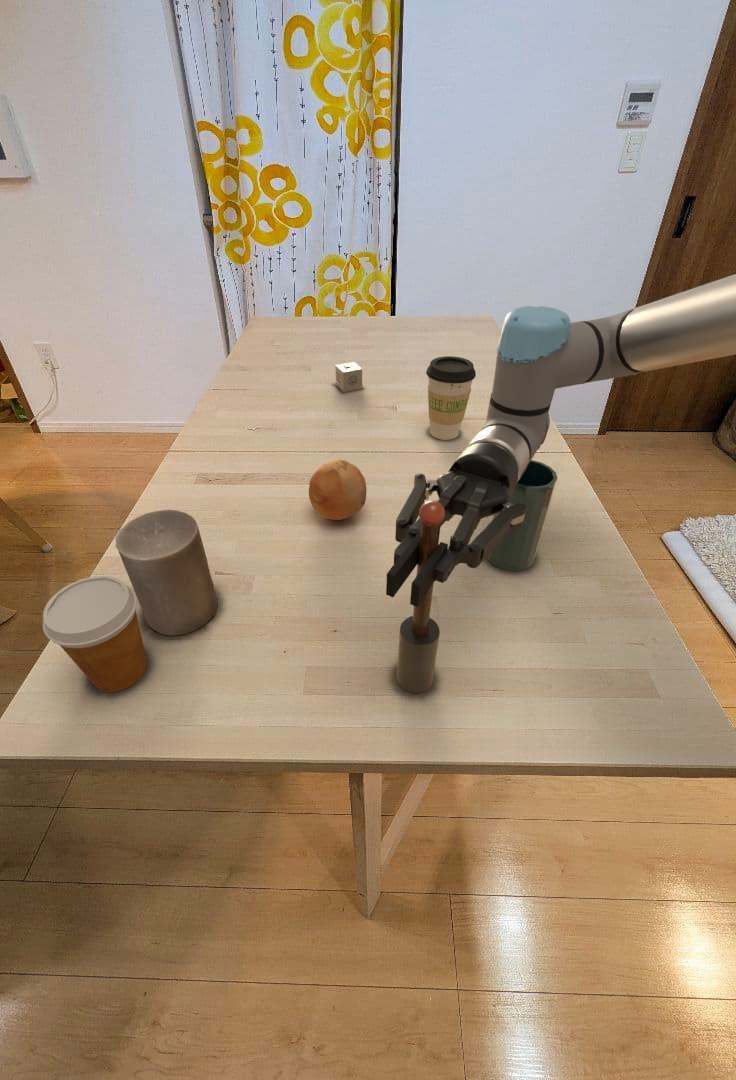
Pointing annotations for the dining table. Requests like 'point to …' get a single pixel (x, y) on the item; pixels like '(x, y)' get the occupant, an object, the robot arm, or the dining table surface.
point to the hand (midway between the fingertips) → (402, 590)
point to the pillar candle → (168, 571)
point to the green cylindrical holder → (526, 518)
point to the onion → (337, 490)
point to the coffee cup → (448, 394)
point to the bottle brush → (421, 615)
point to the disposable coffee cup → (98, 630)
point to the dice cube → (348, 376)
